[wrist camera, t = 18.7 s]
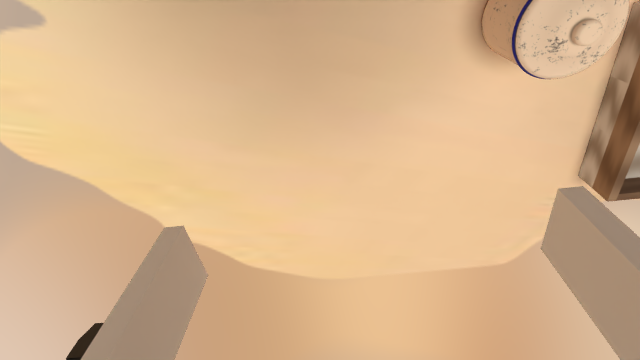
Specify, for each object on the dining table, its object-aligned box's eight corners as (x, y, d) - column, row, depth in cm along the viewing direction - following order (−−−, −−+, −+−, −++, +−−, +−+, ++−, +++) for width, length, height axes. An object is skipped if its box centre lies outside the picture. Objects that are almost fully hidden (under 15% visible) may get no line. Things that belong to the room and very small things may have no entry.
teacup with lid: (544, 60, 39) (615, 94, 29) (467, 53, 39) (511, 85, 29) (600, -67, 32) (716, -79, 22) (506, -76, 32) (582, -92, 22)
